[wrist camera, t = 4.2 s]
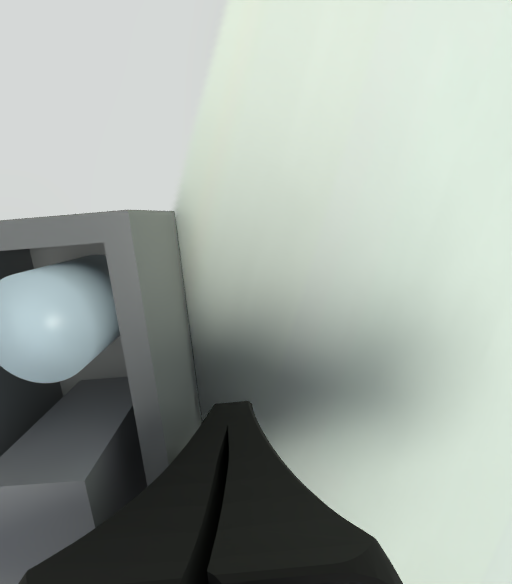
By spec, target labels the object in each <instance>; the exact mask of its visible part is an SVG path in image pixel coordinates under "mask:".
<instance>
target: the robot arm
mask: <svg viewBox="0 0 512 584" xmlns="http://www.w3.org/2000/svg"><path fill="white" fill-rule="evenodd" d="M18 584H403V583H402V581H401V579H400V578H399V576H398V574H397V572H396V570H395V569H394V567H393V565H392V564H391V562H390V560H389V559H388V557H387V555H386V554H385V552H384V551H383V549H382V548H381V546H380V544H379V543H378V541H377V540H376V539H375V538H374V537H372V536H371V535H369V534H368V533H366V532H364V531H363V530H361V529H360V528H358V527H357V526H355V525H353V524H352V523H350V522H349V521H347V520H346V519H344V518H343V517H341V516H340V515H338V514H337V513H336V512H334V511H333V510H332V509H331V508H329V507H328V506H327V505H326V504H325V503H323V502H322V501H321V500H320V499H319V498H318V497H317V496H316V495H314V494H313V493H312V492H311V491H310V490H309V489H308V488H307V487H306V486H305V485H304V484H303V483H302V482H301V481H300V480H299V479H298V478H297V477H296V476H295V475H294V474H293V473H292V472H291V470H290V469H289V468H288V467H287V466H286V465H285V463H284V462H283V461H282V460H281V458H280V457H279V456H278V454H277V453H276V451H275V450H274V449H273V447H272V446H271V444H270V443H269V441H268V440H267V438H266V436H265V434H264V433H263V431H262V429H261V427H260V425H259V424H258V421H257V419H256V417H255V414H254V412H253V408H252V404H251V403H250V402H249V401H244V402H233V403H222V404H215V405H214V406H213V407H212V409H211V410H210V412H209V413H208V415H207V417H206V418H205V420H204V421H203V423H202V424H201V425H200V427H199V428H198V430H197V431H196V432H195V434H194V435H193V437H192V438H191V439H190V441H189V442H188V443H187V445H186V446H185V447H184V448H183V449H182V451H181V452H180V453H179V454H178V455H177V457H176V458H175V459H174V460H173V461H172V462H171V464H170V465H169V466H168V467H167V468H166V469H165V470H164V471H163V472H162V473H161V474H160V475H159V476H158V477H157V478H156V479H155V480H154V481H153V482H152V483H151V484H150V485H149V486H148V487H147V488H146V489H144V490H143V491H142V492H141V493H140V494H138V495H137V496H136V497H135V498H134V499H133V500H131V501H130V502H129V503H128V504H127V505H125V506H124V507H123V508H122V509H121V510H119V511H118V512H117V513H115V514H114V515H113V516H111V517H110V518H109V519H107V520H106V521H105V522H103V523H102V524H100V525H99V526H98V527H96V528H95V529H93V530H92V531H90V532H89V533H87V534H86V535H85V536H83V537H81V538H80V539H78V540H77V541H75V542H74V543H72V544H71V545H69V546H67V547H66V548H64V549H62V550H61V551H59V552H57V553H56V554H54V555H52V556H51V557H49V558H47V559H46V560H44V561H43V562H41V563H39V564H38V565H36V566H34V567H32V568H30V569H29V570H27V572H26V573H25V574H24V576H23V577H22V579H21V580H20V582H19V583H18Z"/></svg>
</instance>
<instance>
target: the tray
mask: <svg viewBox="0 0 512 584" xmlns="http://www.w3.org/2000/svg"><path fill="white" fill-rule="evenodd" d="M201 424H202V420H201V413H200V405H199V397H198V390H197V382H196V374H195V367H194V359H193V351H192V344H191V336H190V329H189V321H188V313H187V306H186V298H185V290H184V283H183V275H182V267H181V260H180V252H179V244H178V237H177V229H176V221H175V214H174V211H147V210H121V211H109V212H97V213H85V214H73V215H61V216H49V217H39V218H38V217H37V218H25V219H13V220H1V221H0V584H18V583H19V582H20V580H21V579H22V577H23V576H24V574H25V573H26V572H27V570H29V569H30V568H32V567H34V566H36V565H38V564H39V563H41V562H43V561H44V560H46V559H47V558H49V557H51V556H52V555H54V554H56V553H57V552H59V551H61V550H62V549H64V548H66V547H67V546H69V545H71V544H72V543H74V542H75V541H77V540H78V539H80V538H81V537H83V536H85V535H86V534H87V533H89V532H90V531H92V530H93V529H95V528H96V527H98V526H99V525H100V524H102V523H103V522H105V521H106V520H107V519H109V518H110V517H111V516H113V515H114V514H115V513H117V512H118V511H119V510H121V509H122V508H123V507H124V506H125V505H127V504H128V503H129V502H130V501H131V500H133V499H134V498H135V497H136V496H137V495H138V494H140V493H141V492H142V491H143V490H144V489H146V488H147V487H148V486H149V485H150V484H151V483H152V482H153V481H154V480H155V479H156V478H157V477H158V476H159V475H160V474H161V473H162V472H163V471H164V470H165V469H166V468H167V467H168V466H169V465H170V464H171V462H172V461H173V460H174V459H175V458H176V457H177V455H178V454H179V453H180V452H181V451H182V449H183V448H184V447H185V446H186V445H187V443H188V442H189V441H190V439H191V438H192V437H193V435H194V434H195V432H196V431H197V430H198V428H199V427H200V425H201Z"/></svg>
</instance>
